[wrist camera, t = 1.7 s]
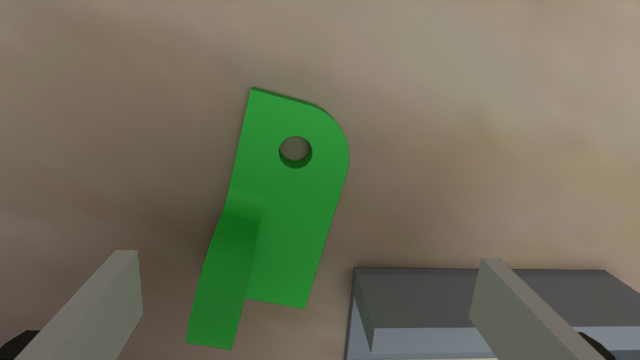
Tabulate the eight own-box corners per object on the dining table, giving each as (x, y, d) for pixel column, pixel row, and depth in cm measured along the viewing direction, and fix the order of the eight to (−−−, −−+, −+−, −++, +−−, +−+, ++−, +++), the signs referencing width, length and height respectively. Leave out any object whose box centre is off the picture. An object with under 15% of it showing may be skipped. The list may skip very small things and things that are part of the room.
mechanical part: (303, 289, 25) (310, 390, 17) (212, 272, 24) (178, 371, 16) (356, 114, 22) (394, 144, 14) (253, 86, 21) (235, 101, 13)
